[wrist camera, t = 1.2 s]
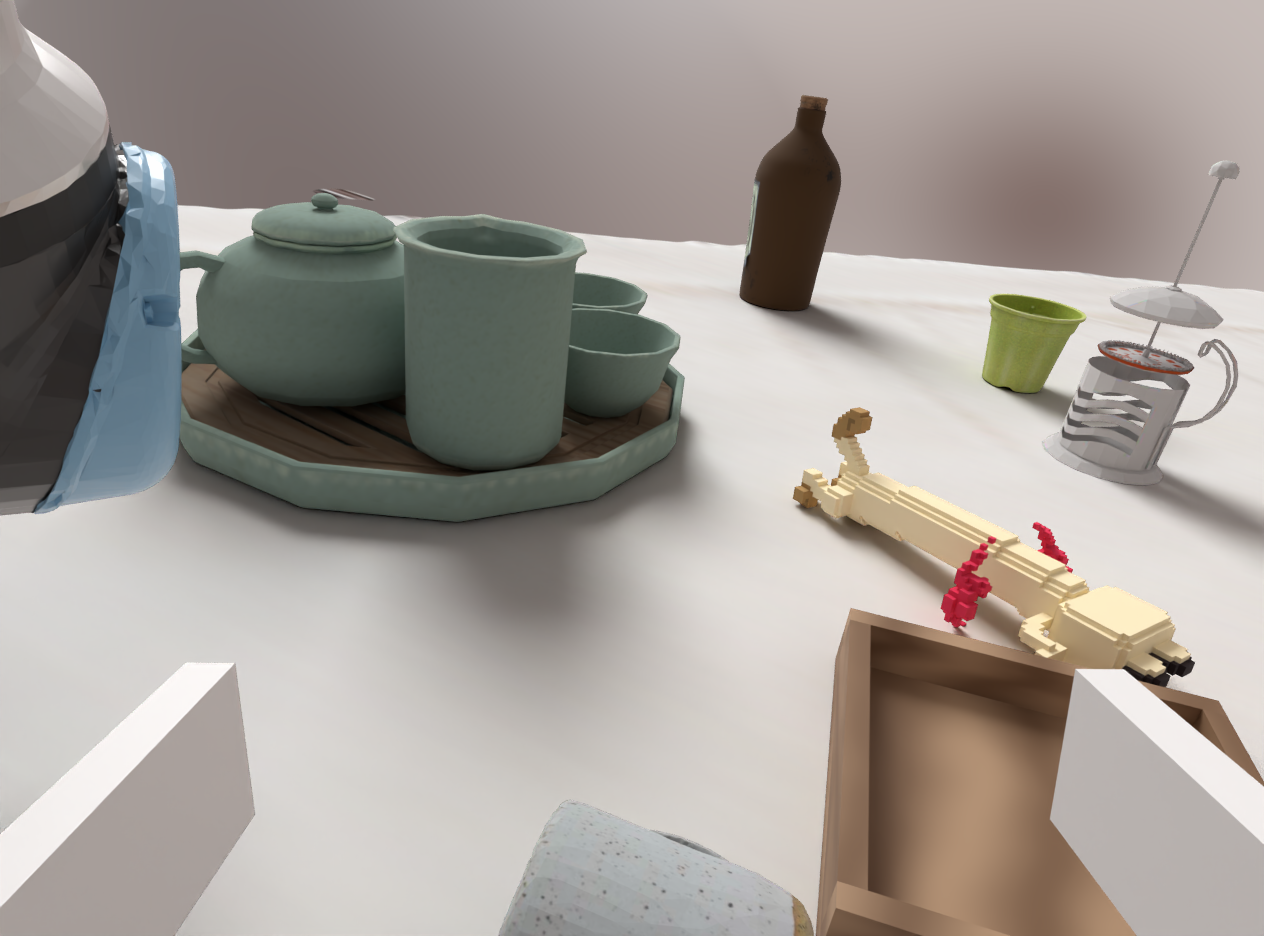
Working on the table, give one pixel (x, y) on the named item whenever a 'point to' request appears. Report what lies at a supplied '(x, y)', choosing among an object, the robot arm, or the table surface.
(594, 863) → the ceramic mug
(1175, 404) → the french press
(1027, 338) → the plant pot
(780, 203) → the olive oil
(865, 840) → the tray
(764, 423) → the table surface
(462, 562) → the table surface
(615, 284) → the tea set
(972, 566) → the cat figure
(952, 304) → the table surface
